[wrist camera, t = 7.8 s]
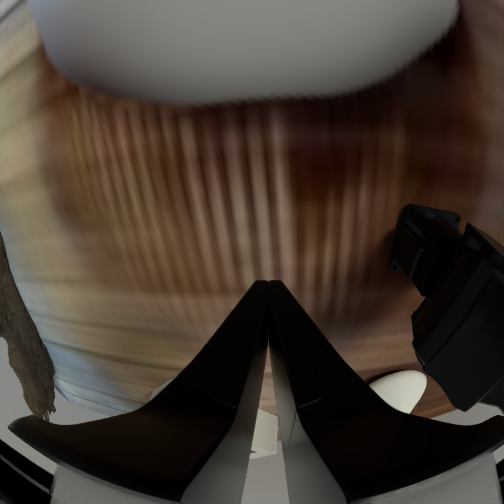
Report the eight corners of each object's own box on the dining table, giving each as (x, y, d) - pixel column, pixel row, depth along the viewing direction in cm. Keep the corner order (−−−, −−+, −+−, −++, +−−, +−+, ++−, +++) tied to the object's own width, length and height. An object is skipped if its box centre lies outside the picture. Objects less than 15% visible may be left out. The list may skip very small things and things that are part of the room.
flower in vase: (383, 407, 36) (401, 534, 15) (337, 397, 34) (347, 551, 13) (443, 364, 30) (483, 504, 9) (404, 346, 28) (449, 530, 7)
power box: (184, 370, 33) (171, 413, 27) (277, 416, 38) (276, 453, 32) (141, 396, 39) (130, 428, 33) (222, 434, 44) (217, 464, 38)
